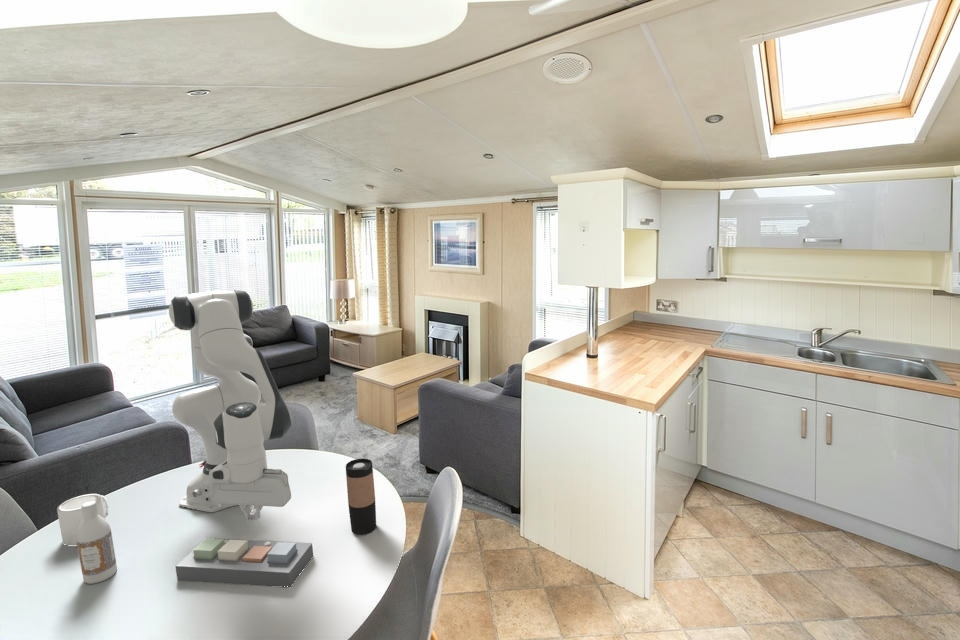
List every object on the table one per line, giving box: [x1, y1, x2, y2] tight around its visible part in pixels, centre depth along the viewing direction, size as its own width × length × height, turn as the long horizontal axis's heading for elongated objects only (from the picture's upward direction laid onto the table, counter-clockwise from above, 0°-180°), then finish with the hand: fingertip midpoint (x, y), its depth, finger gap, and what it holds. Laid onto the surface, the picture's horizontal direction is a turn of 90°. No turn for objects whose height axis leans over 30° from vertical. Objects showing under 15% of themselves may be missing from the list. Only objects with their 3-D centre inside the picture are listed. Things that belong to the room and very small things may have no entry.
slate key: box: [267, 541, 297, 564], centre depth 126 cm, size 5×5×4 cm
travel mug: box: [345, 458, 377, 536], centre depth 143 cm, size 8×8×20 cm
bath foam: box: [76, 501, 118, 585], centre depth 126 cm, size 7×7×20 cm
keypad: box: [175, 537, 314, 588], centre depth 128 cm, size 30×12×4 cm, turn 82°
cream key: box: [218, 539, 248, 561], centre depth 128 cm, size 5×5×4 cm
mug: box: [56, 493, 109, 545], centre depth 146 cm, size 14×10×11 cm
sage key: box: [192, 537, 225, 560], centre depth 129 cm, size 5×5×4 cm
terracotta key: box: [243, 546, 272, 562], centre depth 127 cm, size 5×5×4 cm
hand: (253, 519), depth 126 cm, fingers closed
